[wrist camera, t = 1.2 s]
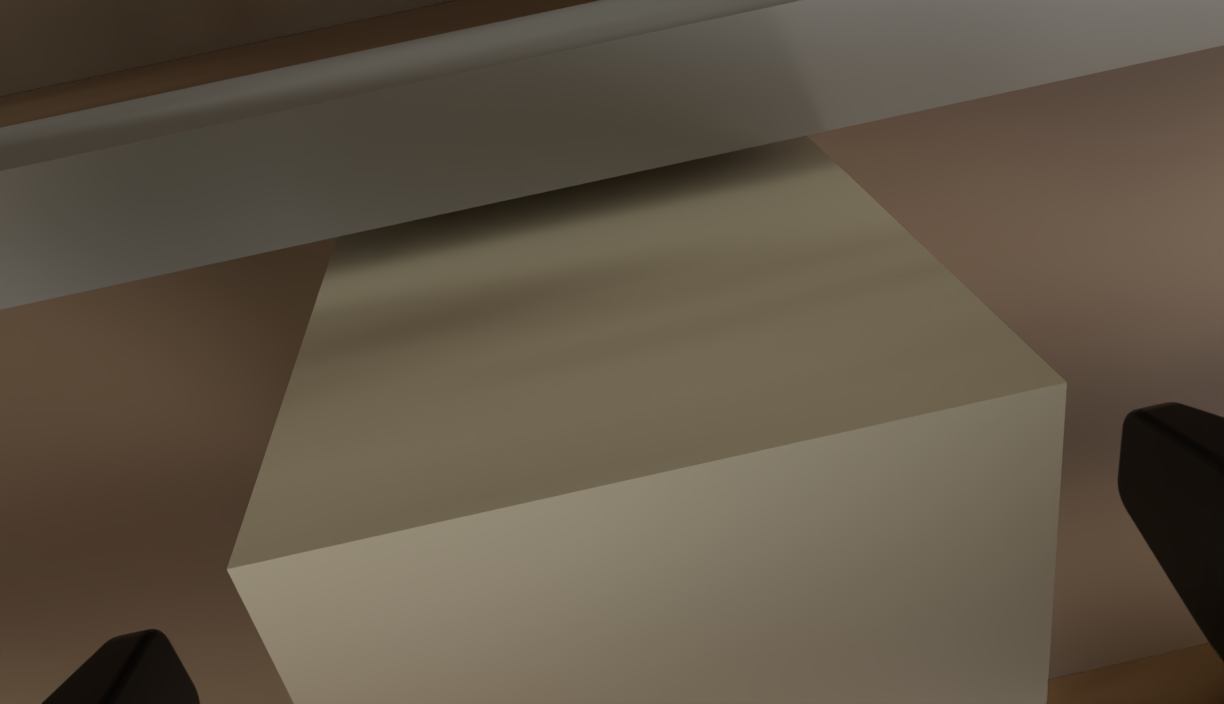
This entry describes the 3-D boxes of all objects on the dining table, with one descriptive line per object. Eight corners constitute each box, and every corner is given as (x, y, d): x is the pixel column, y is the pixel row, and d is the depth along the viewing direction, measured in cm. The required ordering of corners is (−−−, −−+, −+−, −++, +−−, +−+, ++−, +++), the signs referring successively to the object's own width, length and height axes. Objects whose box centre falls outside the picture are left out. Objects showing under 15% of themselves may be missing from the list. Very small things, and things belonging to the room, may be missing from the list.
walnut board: (1147, 560, 18) (1310, 739, 14) (-366, 903, 17) (-578, 1176, 14) (1239, -166, 12) (1552, -161, 9) (-1050, 318, 11) (-1719, 537, 8)
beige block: (827, 584, 14) (1026, 1016, 9) (498, 658, 14) (511, 1138, 9) (783, 113, 11) (1067, 382, 6) (346, 207, 11) (226, 570, 6)
